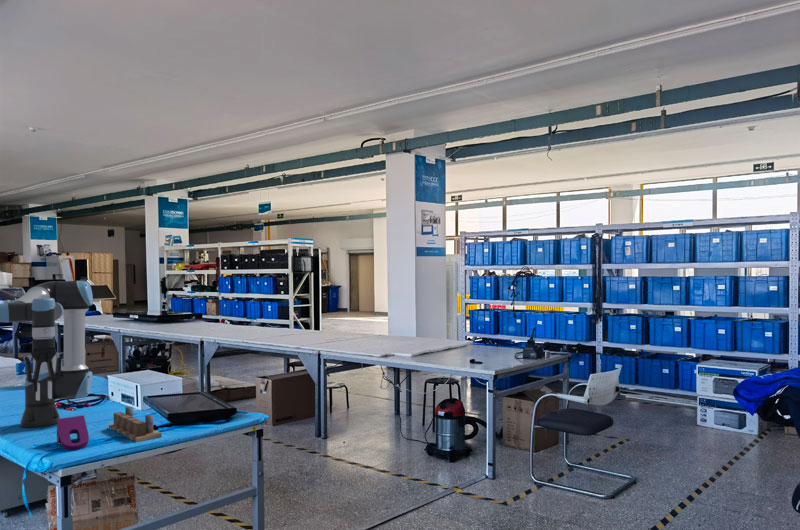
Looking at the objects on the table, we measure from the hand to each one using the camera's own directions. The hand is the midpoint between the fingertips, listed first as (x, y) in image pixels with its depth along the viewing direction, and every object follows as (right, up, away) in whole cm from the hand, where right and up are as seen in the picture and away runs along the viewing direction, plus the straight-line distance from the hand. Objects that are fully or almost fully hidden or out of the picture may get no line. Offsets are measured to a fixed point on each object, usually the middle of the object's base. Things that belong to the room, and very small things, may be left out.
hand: (43, 398), depth 220 cm
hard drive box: (-80, -23, +133) cm, 157 cm away
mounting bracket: (+8, -20, +7) cm, 22 cm away
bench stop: (+24, -20, +23) cm, 39 cm away
